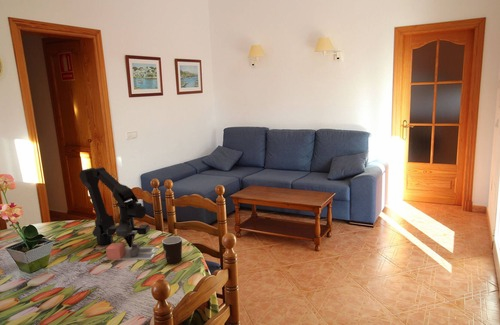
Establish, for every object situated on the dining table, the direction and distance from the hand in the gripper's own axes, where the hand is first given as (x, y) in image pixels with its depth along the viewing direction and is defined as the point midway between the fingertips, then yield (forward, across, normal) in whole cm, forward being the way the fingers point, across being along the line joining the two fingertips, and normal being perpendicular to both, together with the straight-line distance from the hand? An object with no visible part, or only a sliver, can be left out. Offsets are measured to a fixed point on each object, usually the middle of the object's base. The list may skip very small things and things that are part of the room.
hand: (130, 247), depth 178 cm
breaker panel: (+3, +2, -3) cm, 5 cm away
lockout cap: (+2, -4, -6) cm, 7 cm away
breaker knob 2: (+1, +4, -6) cm, 7 cm away
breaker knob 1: (+1, +2, 0) cm, 3 cm away
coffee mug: (+3, +23, -7) cm, 25 cm away
